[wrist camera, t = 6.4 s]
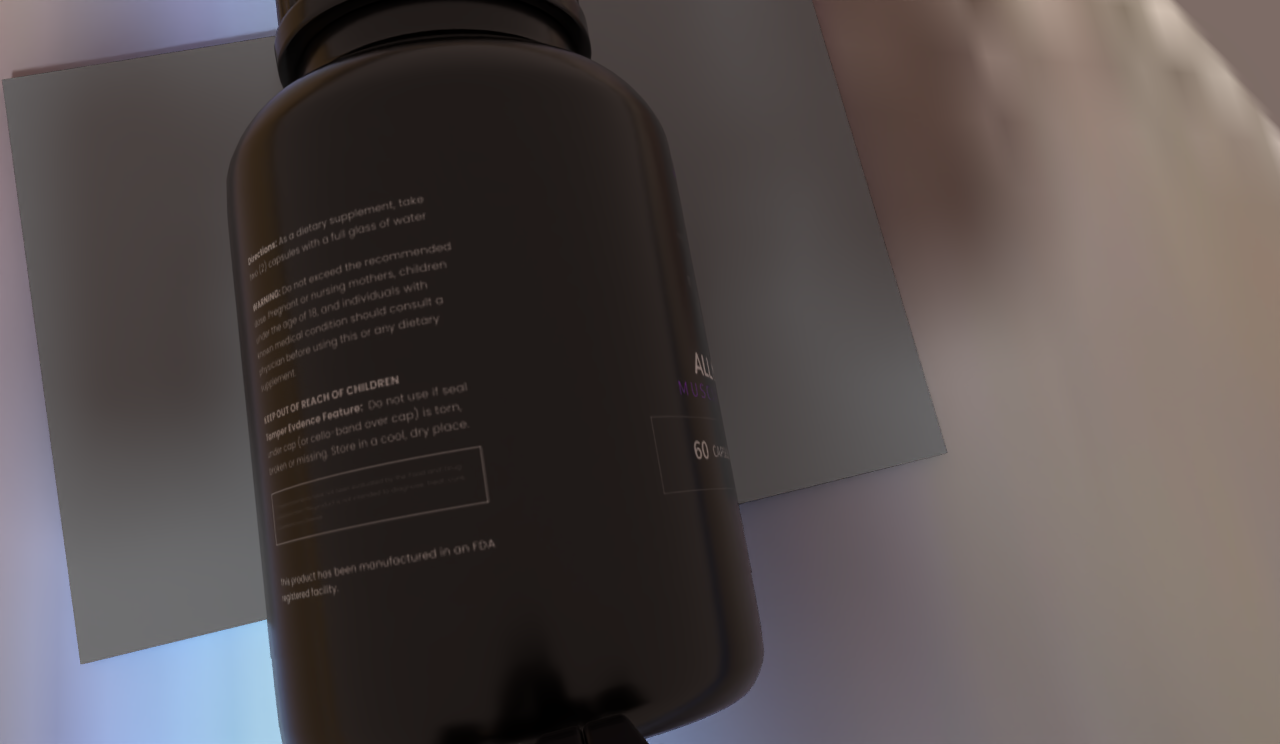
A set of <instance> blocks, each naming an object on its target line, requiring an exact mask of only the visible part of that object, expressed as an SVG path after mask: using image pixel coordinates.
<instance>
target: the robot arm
mask: <svg viewBox="0 0 1280 744" xmlns="http://www.w3.org/2000/svg"><path fill="white" fill-rule="evenodd" d="M583 735H584V737H583ZM584 739H585V742H584ZM536 744H649V743H648V742H647V741H646V740H645V738H644V737H643V736H642V734H641V733H640V732H639V731H638V729H637V728H636V727H635V726H634V724H633V723H632V722H631V721H630V720H629V719H628V718H627V717H626V716H624V715H622V714H616V715H613V716H609V717H605V718H602V719H598V720H594V721H590V722H588V723H586V725H585V726H584V728H583V733H582V730H581V729H580V728H579V727H576V726H572V727H568V728H565V729H561V730H557V731H553V732H550V733H546V734H543V735H541V736H540V737H539V738H538V740H537V742H536Z"/></svg>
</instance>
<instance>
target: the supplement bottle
mask: <svg viewBox="0 0 1280 744" xmlns="http://www.w3.org/2000/svg"><path fill="white" fill-rule="evenodd" d="M276 8H277V17H278V26H279V27H278V29H277V32H276V36H275V44H274V52H275V58H276V64H277V70H278V74H279V79H280V82H281V84H282V87H283V90H281V91H280V92H279V93H278V94H276V95H275V96H274V97H273V98H272V99H271V100H270V101H269V102H268V103H267V104H266V105H265V106H264V107H263V108H262V109H261V110H260V111H259V112H258V113H257V114H256V116H255V117H254V118H253V120H252V121H251V122H250V124H249V125H248V127H247V128H246V129H245V131H244V133H243V135H242V136H241V138H240V140H239V142H238V145H237V147H236V149H235V151H234V153H233V155H232V158H231V161H230V164H229V169H228V173H227V179H226V190H227V219H228V231H229V241H230V251H231V261H232V272H233V282H234V292H235V302H236V312H237V322H238V332H239V342H240V353H241V363H242V373H243V383H244V393H245V403H246V413H247V423H248V433H249V443H250V453H251V464H252V474H253V484H254V494H255V504H256V514H257V524H258V534H259V544H260V554H261V564H262V575H263V585H264V595H265V605H266V615H267V625H268V635H269V645H270V655H271V659H272V667H273V677H274V687H275V696H276V705H277V713H278V722H279V728H280V734H281V739H282V744H536V742H537V740H538V738H539V737H540V736H541V735H543V734H546V733H550V732H553V731H557V730H561V729H565V728H568V727H572V726H576V727H579V728H580V729H581V730H582V733H583V728H584V726H585V725H586V723H588V722H590V721H594V720H598V719H602V718H605V717H609V716H613V715H616V714H622V715H624V716H626V717H627V718H628V719H629V720H630V721H631V722H632V723H633V724H634V726H635V727H636V728H637V729H638V731H639V732H640V733H641V734H642V736H643V737H644V738H645V739H646V738H649V737H652V736H656V735H659V734H662V733H665V732H668V731H671V730H674V729H677V728H680V727H683V726H685V725H688V724H691V723H693V722H696V721H699V720H701V719H703V718H706V717H708V716H710V715H713V714H715V713H717V712H719V711H721V710H723V709H725V708H727V707H729V706H730V705H732V704H734V703H736V702H737V701H738V700H740V699H741V698H742V697H744V696H745V695H746V694H747V693H748V692H749V691H750V689H751V688H752V686H753V685H754V683H755V681H756V679H757V677H758V675H759V672H760V670H761V666H762V663H763V656H764V647H763V637H762V630H761V624H760V618H759V613H758V607H757V601H756V596H755V590H754V585H753V580H752V575H751V573H752V571H751V566H750V561H749V555H748V550H747V545H746V540H745V535H744V529H743V524H742V519H741V514H740V508H739V503H738V498H737V493H736V488H735V482H734V477H733V472H732V467H731V461H730V456H729V451H728V446H727V441H726V435H725V430H724V425H723V420H722V414H721V409H720V404H719V399H718V394H717V388H716V383H715V378H714V373H713V367H712V362H711V357H710V352H709V347H708V341H707V336H706V331H705V326H704V321H703V315H702V310H701V305H700V300H699V294H698V289H697V284H696V279H695V274H694V268H693V263H692V258H691V253H690V247H689V242H688V237H687V232H686V227H685V221H684V216H683V211H682V206H681V201H680V195H679V190H678V185H677V180H676V175H675V170H674V165H673V161H672V158H671V153H670V148H669V145H668V141H667V137H666V134H665V132H664V130H663V127H662V125H661V123H660V121H659V119H658V118H657V117H656V115H655V114H654V112H653V111H652V109H651V108H650V107H649V105H648V104H647V103H646V101H645V100H644V99H643V98H642V97H641V96H640V95H639V94H638V93H637V92H636V91H635V90H634V89H633V88H632V87H631V86H630V85H629V84H628V83H627V82H626V81H624V80H623V79H622V78H621V77H619V76H618V75H616V74H615V73H614V72H612V71H611V70H609V69H608V68H606V67H604V66H602V65H601V64H599V63H597V62H595V61H593V60H591V55H592V51H591V43H590V38H589V32H588V26H587V22H586V18H585V15H584V13H583V10H582V9H581V7H580V5H579V0H276ZM583 737H584V735H583ZM584 742H585V739H584Z"/></svg>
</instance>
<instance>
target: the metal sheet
mask: <svg viewBox="0 0 1280 744" xmlns="http://www.w3.org/2000/svg"><path fill="white" fill-rule="evenodd" d="M579 5H580V7H581V9H582V10H583V13H584V15H585V18H586V22H587V26H588V32H589V38H590V43H591V51H592V55H591V60H593V61H595V62H597V63H599V64H601V65H602V66H604V67H606V68H608V69H609V70H611V71H612V72H614V73H615V74H616V75H618V76H619V77H621V78H622V79H623V80H624V81H626V82H627V83H628V84H629V85H630V86H631V87H632V88H633V89H634V90H635V91H636V92H637V93H638V94H639V95H640V96H641V97H642V98H643V99H644V100H645V101H646V103H647V104H648V105H649V107H650V108H651V109H652V111H653V112H654V114H655V115H656V117H657V118H658V119H659V121H660V123H661V125H662V127H663V130H664V132H665V134H666V137H667V141H668V145H669V148H670V153H671V158H672V161H673V165H674V170H675V175H676V180H677V185H678V190H679V195H680V201H681V206H682V211H683V216H684V221H685V227H686V232H687V237H688V242H689V247H690V253H691V258H692V263H693V268H694V274H695V279H696V284H697V289H698V294H699V300H700V305H701V310H702V315H703V321H704V326H705V331H706V336H707V341H708V347H709V352H710V357H711V362H712V367H713V373H714V378H715V383H716V388H717V394H718V399H719V404H720V409H721V414H722V420H723V425H724V430H725V435H726V441H727V446H728V451H729V456H730V461H731V467H732V472H733V477H734V482H735V488H736V493H737V498H738V503H739V504H741V503H745V502H749V501H753V500H757V499H761V498H765V497H770V496H774V495H778V494H782V493H786V492H790V491H794V490H798V489H802V488H806V487H811V486H815V485H819V484H823V483H827V482H831V481H835V480H839V479H843V478H847V477H851V476H856V475H860V474H864V473H868V472H872V471H876V470H880V469H884V468H888V467H892V466H897V465H901V464H905V463H909V462H913V461H917V460H921V459H925V458H929V457H933V456H937V455H942V454H945V453H947V449H946V446H945V443H944V439H943V436H942V433H941V429H940V426H939V423H938V419H937V416H936V413H935V409H934V406H933V403H932V399H931V396H930V393H929V389H928V386H927V383H926V379H925V376H924V373H923V369H922V366H921V363H920V359H919V356H918V353H917V349H916V346H915V343H914V339H913V336H912V332H911V329H910V326H909V322H908V319H907V316H906V312H905V309H904V306H903V302H902V299H901V296H900V292H899V289H898V286H897V282H896V279H895V276H894V272H893V269H892V266H891V262H890V259H889V256H888V252H887V249H886V246H885V242H884V239H883V236H882V232H881V229H880V226H879V222H878V219H877V216H876V212H875V209H874V206H873V202H872V199H871V196H870V192H869V189H868V186H867V182H866V179H865V176H864V172H863V169H862V165H861V162H860V159H859V155H858V152H857V149H856V145H855V142H854V139H853V135H852V132H851V129H850V125H849V122H848V119H847V115H846V112H845V109H844V105H843V102H842V99H841V95H840V92H839V89H838V85H837V82H836V79H835V75H834V72H833V69H832V65H831V62H830V59H829V55H828V52H827V49H826V45H825V42H824V39H823V35H822V32H821V29H820V25H819V22H818V19H817V15H816V12H815V9H814V5H813V2H812V0H579ZM274 44H275V36H271V37H265V38H259V39H253V40H246V41H240V42H234V43H228V44H222V45H215V46H209V47H203V48H197V49H191V50H184V51H178V52H172V53H166V54H159V55H153V56H147V57H141V58H135V59H128V60H122V61H116V62H110V63H104V64H97V65H91V66H85V67H79V68H72V69H66V70H60V71H54V72H48V73H41V74H35V75H29V76H23V77H17V78H10V79H4V80H2V84H3V91H4V99H5V106H6V113H7V121H8V128H9V136H10V143H11V151H12V158H13V165H14V173H15V180H16V188H17V195H18V203H19V210H20V217H21V225H22V232H23V240H24V247H25V255H26V262H27V270H28V277H29V284H30V292H31V299H32V307H33V314H34V322H35V329H36V336H37V344H38V351H39V359H40V366H41V374H42V381H43V389H44V396H45V403H46V411H47V418H48V426H49V433H50V441H51V448H52V455H53V463H54V470H55V478H56V485H57V493H58V500H59V507H60V515H61V522H62V530H63V537H64V545H65V552H66V560H67V567H68V574H69V582H70V589H71V597H72V604H73V612H74V619H75V626H76V634H77V641H78V649H79V656H80V664H85V663H90V662H94V661H98V660H102V659H106V658H110V657H114V656H118V655H122V654H127V653H131V652H135V651H139V650H143V649H147V648H151V647H155V646H159V645H163V644H167V643H172V642H176V641H180V640H184V639H188V638H192V637H196V636H200V635H204V634H208V633H213V632H217V631H221V630H225V629H229V628H233V627H237V626H241V625H245V624H249V623H253V622H258V621H262V620H266V619H267V615H266V605H265V595H264V585H263V575H262V564H261V554H260V544H259V534H258V524H257V514H256V504H255V494H254V484H253V474H252V464H251V453H250V443H249V433H248V423H247V413H246V403H245V393H244V383H243V373H242V363H241V353H240V342H239V332H238V322H237V312H236V302H235V292H234V282H233V272H232V261H231V251H230V241H229V231H228V219H227V190H226V179H227V173H228V169H229V164H230V161H231V158H232V155H233V153H234V151H235V149H236V147H237V145H238V142H239V140H240V138H241V136H242V135H243V133H244V131H245V129H246V128H247V127H248V125H249V124H250V122H251V121H252V120H253V118H254V117H255V116H256V114H257V113H258V112H259V111H260V110H261V109H262V108H263V107H264V106H265V105H266V104H267V103H268V102H269V101H270V100H271V99H272V98H273V97H274V96H275V95H276V94H278V93H279V92H280V91H281V90H283V87H282V84H281V82H280V79H279V74H278V70H277V64H276V58H275V52H274Z"/></svg>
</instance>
